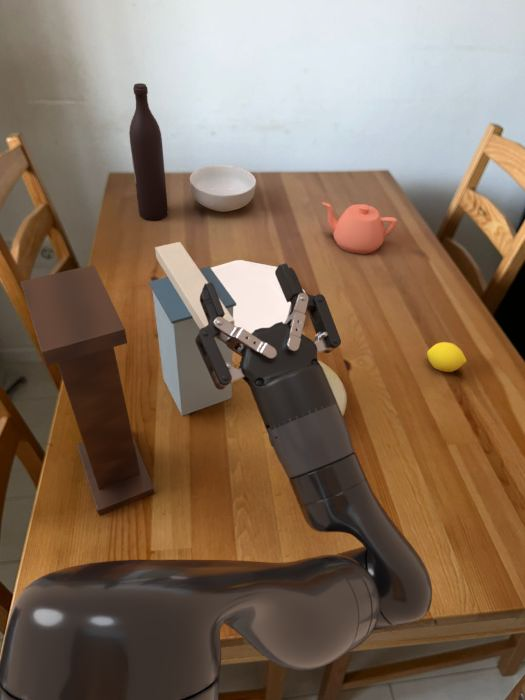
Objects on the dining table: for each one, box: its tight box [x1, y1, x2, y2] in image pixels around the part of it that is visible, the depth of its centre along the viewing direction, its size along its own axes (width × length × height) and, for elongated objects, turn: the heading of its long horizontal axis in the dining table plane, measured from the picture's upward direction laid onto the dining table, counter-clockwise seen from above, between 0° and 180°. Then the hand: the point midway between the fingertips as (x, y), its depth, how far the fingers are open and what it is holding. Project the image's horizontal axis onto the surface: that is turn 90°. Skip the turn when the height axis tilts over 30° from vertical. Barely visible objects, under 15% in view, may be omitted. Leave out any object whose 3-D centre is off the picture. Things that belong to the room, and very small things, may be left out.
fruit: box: [318, 359, 348, 417], centre depth 87 cm, size 7×15×3 cm, turn 9°
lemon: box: [426, 341, 467, 373], centre depth 93 cm, size 7×5×5 cm
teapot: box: [321, 201, 399, 255], centre depth 121 cm, size 12×18×10 cm
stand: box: [20, 264, 156, 517], centre depth 65 cm, size 8×12×32 cm, turn 27°
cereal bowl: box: [189, 164, 257, 213], centre depth 131 cm, size 17×17×7 cm
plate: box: [210, 259, 307, 334], centre depth 105 cm, size 24×24×2 cm
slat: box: [154, 241, 234, 329], centre depth 73 cm, size 4×20×2 cm, turn 27°
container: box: [148, 266, 236, 417], centre depth 81 cm, size 10×10×21 cm
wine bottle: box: [128, 82, 169, 221], centre depth 118 cm, size 7×7×30 cm
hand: (244, 276), depth 54 cm, fingers open, 8 cm apart
